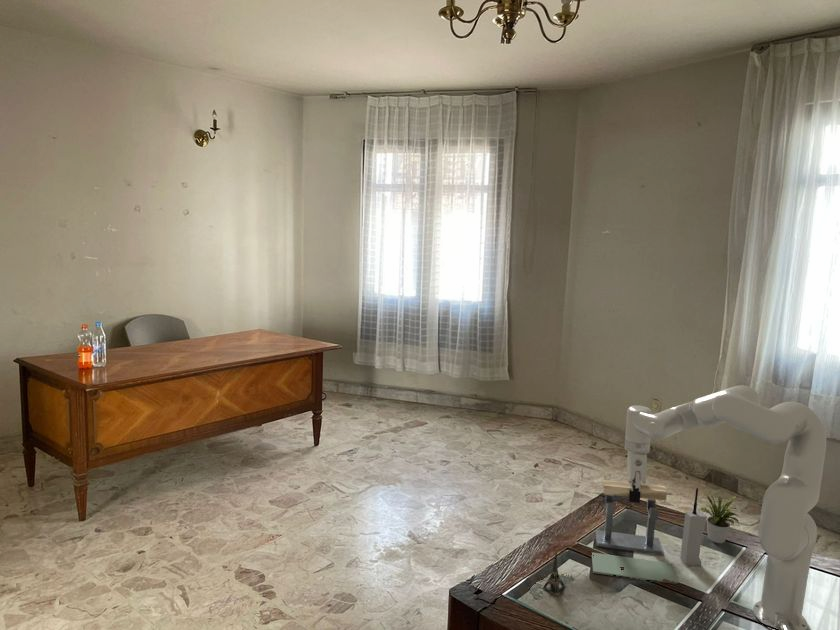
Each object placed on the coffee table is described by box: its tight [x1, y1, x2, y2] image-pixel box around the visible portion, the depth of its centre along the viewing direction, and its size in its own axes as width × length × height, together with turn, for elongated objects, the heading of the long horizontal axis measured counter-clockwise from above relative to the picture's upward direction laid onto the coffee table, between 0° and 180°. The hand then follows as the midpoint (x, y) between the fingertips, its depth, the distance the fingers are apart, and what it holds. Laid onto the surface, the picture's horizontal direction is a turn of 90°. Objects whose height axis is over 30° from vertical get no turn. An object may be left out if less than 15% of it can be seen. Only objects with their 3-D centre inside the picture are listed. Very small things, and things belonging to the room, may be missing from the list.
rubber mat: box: [591, 551, 679, 584], centre depth 183 cm, size 10×24×1 cm, turn 77°
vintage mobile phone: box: [680, 488, 708, 567], centre depth 184 cm, size 4×5×25 cm
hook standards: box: [595, 494, 664, 556], centre depth 195 cm, size 8×20×15 cm, turn 77°
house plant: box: [693, 492, 742, 544], centre depth 198 cm, size 14×14×16 cm
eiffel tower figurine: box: [529, 546, 575, 600], centre depth 173 cm, size 15×10×13 cm
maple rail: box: [602, 479, 668, 502], centre depth 192 cm, size 4×19×3 cm, turn 77°
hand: (633, 498), depth 193 cm, fingers closed on maple rail, 4 cm apart
